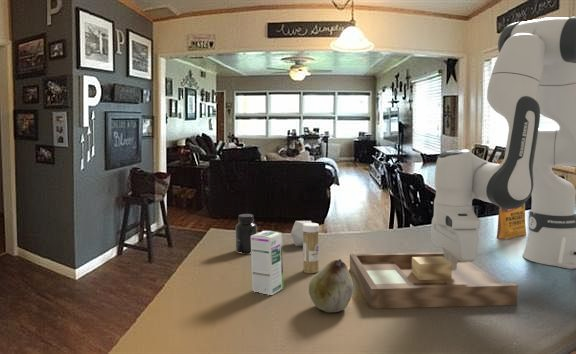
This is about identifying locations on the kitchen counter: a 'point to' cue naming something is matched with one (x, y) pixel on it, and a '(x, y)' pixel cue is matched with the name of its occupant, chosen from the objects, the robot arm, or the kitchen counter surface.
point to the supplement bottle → (245, 233)
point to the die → (298, 232)
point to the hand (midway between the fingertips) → (450, 268)
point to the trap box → (425, 283)
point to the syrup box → (267, 262)
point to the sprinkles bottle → (310, 248)
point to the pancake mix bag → (511, 221)
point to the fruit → (331, 287)
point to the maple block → (431, 268)
